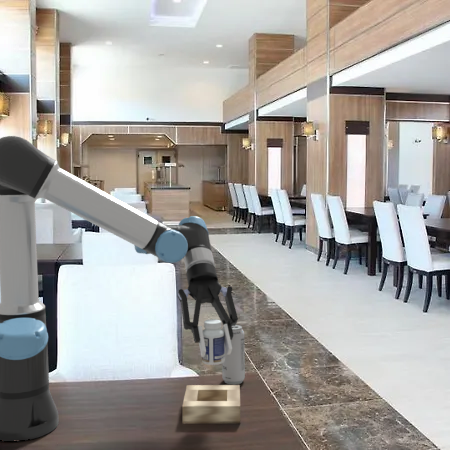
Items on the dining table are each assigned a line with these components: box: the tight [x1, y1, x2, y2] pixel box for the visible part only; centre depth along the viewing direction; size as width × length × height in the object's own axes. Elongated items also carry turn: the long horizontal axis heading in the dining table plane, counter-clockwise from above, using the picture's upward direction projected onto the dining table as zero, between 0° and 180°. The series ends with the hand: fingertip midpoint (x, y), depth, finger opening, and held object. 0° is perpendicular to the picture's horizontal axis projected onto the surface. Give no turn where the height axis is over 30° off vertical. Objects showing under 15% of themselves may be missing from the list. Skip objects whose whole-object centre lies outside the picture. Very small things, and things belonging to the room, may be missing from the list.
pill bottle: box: [201, 318, 225, 366], centre depth 136 cm, size 5×5×10 cm
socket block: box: [182, 384, 241, 425], centre depth 138 cm, size 13×13×4 cm
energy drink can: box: [221, 324, 246, 385], centre depth 157 cm, size 6×6×15 cm
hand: (216, 352), depth 133 cm, fingers closed on pill bottle, 5 cm apart
